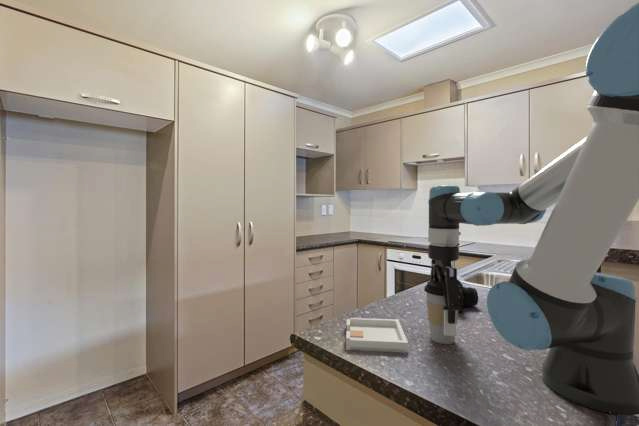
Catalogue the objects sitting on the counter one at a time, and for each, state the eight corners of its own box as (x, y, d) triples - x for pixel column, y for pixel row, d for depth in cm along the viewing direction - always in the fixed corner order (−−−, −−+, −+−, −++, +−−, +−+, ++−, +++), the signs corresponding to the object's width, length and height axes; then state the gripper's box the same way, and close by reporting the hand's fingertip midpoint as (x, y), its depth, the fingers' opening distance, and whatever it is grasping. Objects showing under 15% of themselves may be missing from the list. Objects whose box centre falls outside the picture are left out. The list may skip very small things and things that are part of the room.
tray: (407, 352, 74) (408, 342, 74) (346, 349, 76) (346, 339, 76) (398, 328, 89) (398, 319, 89) (346, 325, 91) (346, 317, 91)
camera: (484, 315, 100) (484, 284, 100) (450, 313, 102) (450, 283, 102) (469, 301, 114) (470, 275, 114) (439, 300, 116) (440, 274, 115)
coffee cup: (443, 330, 88) (443, 278, 87) (470, 344, 79) (470, 286, 79) (416, 335, 84) (416, 281, 84) (441, 350, 76) (441, 290, 75)
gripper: (476, 251, 69) (475, 346, 69) (444, 239, 93) (443, 310, 93) (442, 251, 69) (441, 345, 70) (418, 238, 93) (418, 309, 94)
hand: (442, 325), depth 82 cm, fingers open, 12 cm apart
